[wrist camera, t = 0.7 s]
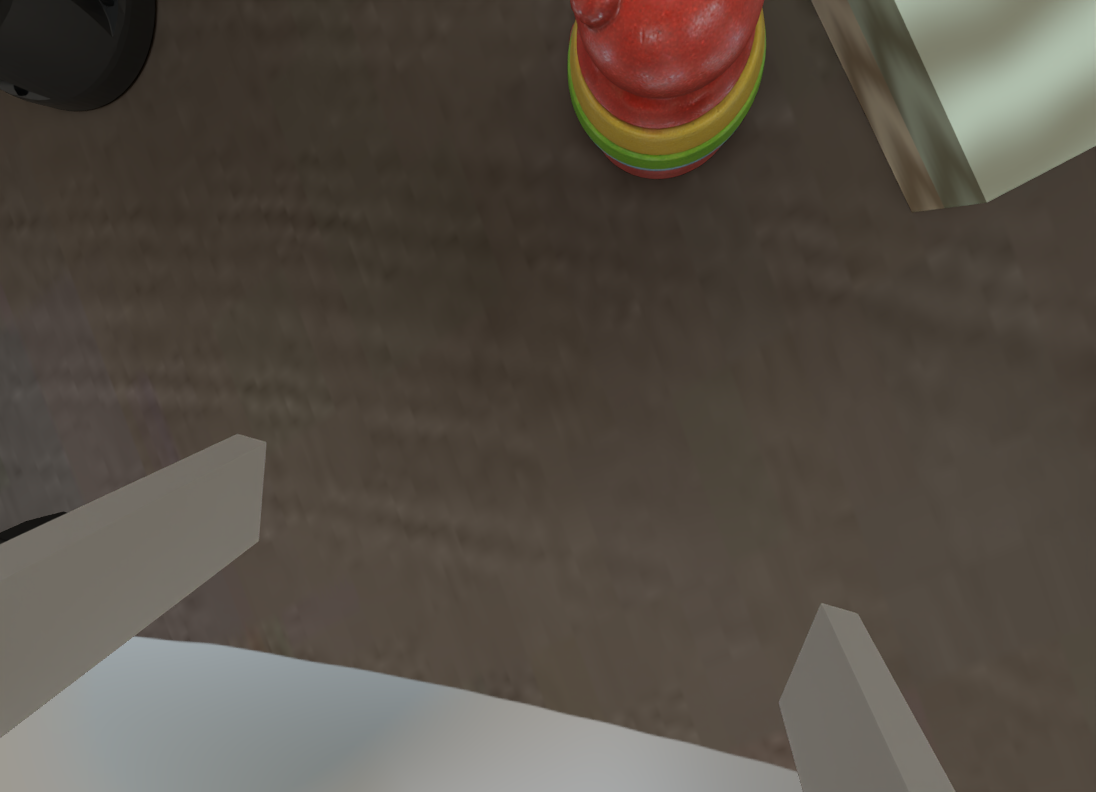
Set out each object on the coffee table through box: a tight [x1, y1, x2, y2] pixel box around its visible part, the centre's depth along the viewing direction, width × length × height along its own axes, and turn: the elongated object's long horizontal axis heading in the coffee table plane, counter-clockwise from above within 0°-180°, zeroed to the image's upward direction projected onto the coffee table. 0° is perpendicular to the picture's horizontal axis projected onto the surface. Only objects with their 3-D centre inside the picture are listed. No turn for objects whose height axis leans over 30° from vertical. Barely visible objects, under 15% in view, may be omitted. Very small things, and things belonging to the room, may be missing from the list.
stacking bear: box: [567, 0, 766, 179], centre depth 26 cm, size 11×10×18 cm
